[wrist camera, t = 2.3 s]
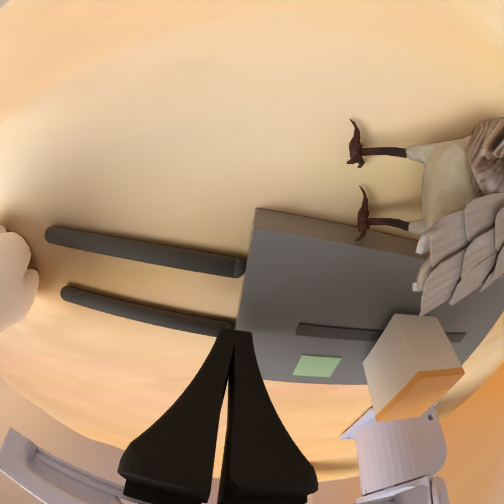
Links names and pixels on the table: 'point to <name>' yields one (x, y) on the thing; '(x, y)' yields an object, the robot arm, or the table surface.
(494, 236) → the decorative bird
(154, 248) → the twin grey rods
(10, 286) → the water bottle
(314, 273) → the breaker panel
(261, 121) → the table surface
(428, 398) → the handle
